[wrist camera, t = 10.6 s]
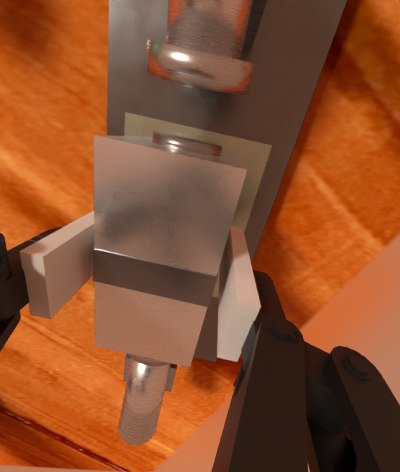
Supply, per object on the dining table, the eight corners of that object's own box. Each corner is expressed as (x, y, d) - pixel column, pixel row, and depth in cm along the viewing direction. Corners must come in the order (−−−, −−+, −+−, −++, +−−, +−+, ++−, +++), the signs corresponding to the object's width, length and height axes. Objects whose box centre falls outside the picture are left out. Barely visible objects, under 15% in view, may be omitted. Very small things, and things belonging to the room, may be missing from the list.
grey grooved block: (201, 287, 18) (189, 373, 11) (140, 273, 18) (93, 351, 11) (237, 148, 13) (253, 156, 7) (156, 130, 13) (91, 120, 7)
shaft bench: (213, 357, 24) (208, 467, 16) (110, 333, 24) (53, 431, 16) (362, -70, 11) (843, -786, 2) (126, -123, 11) (-197, -1003, 2)
